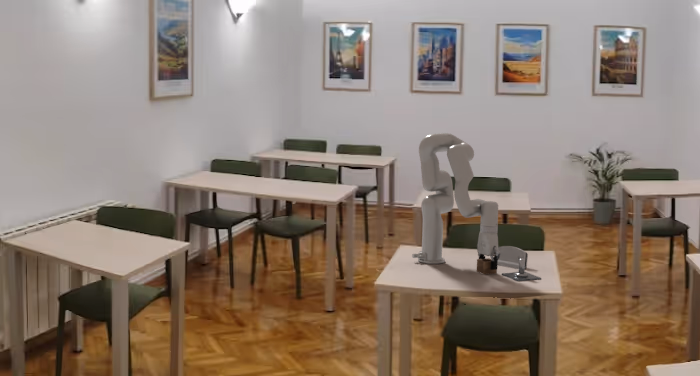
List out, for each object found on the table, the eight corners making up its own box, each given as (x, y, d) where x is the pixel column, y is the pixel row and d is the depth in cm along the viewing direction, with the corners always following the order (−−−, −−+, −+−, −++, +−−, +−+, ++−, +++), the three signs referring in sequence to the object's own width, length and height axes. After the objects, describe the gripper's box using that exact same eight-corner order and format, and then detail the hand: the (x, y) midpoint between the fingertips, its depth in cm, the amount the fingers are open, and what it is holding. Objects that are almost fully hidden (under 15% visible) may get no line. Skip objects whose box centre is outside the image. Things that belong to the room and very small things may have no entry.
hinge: (489, 263, 372) (494, 242, 373) (494, 265, 375) (499, 244, 377) (521, 269, 361) (526, 248, 362) (526, 271, 364) (531, 250, 366)
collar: (484, 274, 350) (484, 262, 349) (476, 271, 356) (477, 259, 355) (496, 273, 353) (497, 261, 352) (488, 270, 358) (489, 258, 358)
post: (517, 281, 339) (518, 262, 338) (501, 274, 350) (502, 257, 349) (540, 279, 344) (541, 261, 343) (524, 272, 355) (525, 255, 354)
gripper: (471, 226, 358) (470, 264, 360) (492, 233, 342) (491, 272, 344) (485, 225, 361) (484, 262, 363) (507, 232, 345) (506, 270, 347)
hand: (487, 267), depth 354 cm, fingers open, 9 cm apart
